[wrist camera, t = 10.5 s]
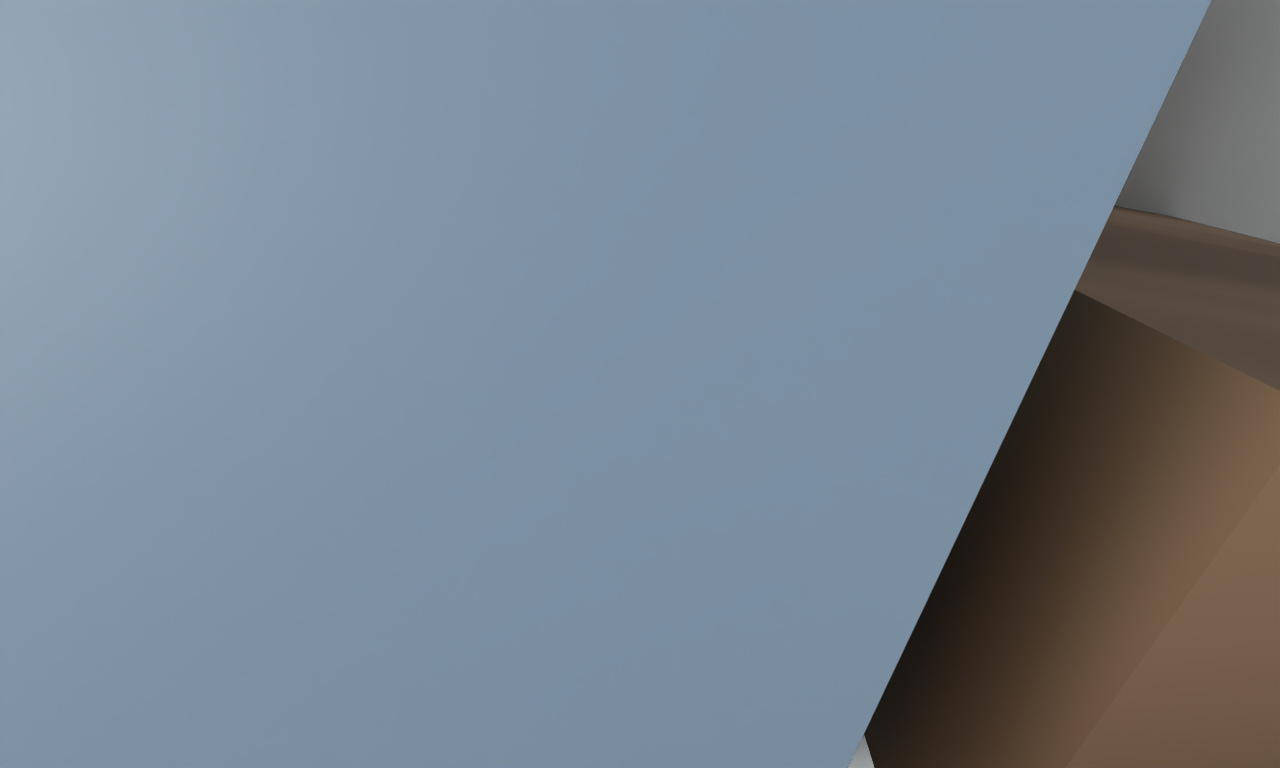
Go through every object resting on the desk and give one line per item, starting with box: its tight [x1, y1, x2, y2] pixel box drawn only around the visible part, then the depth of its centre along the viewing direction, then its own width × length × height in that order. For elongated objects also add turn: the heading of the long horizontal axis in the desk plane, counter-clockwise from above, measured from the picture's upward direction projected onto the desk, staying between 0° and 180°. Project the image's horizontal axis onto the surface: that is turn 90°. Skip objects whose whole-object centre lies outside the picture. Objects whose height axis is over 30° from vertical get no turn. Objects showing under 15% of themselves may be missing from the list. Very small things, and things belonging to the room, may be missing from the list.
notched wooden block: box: [864, 206, 1280, 768], centre depth 6 cm, size 3×18×9 cm, turn 80°
